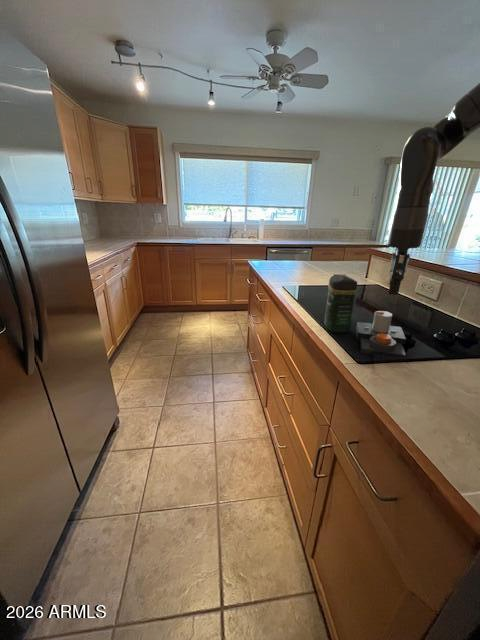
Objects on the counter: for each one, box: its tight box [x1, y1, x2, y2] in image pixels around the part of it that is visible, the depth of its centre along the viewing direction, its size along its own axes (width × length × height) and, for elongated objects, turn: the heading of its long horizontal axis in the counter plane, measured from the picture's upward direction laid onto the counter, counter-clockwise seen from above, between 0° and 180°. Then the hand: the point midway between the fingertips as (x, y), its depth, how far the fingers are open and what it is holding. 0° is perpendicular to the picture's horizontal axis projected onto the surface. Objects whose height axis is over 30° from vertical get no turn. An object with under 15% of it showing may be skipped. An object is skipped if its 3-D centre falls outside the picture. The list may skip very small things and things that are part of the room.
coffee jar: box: [323, 273, 358, 334], centre depth 88 cm, size 10×8×19 cm
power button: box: [376, 333, 391, 344], centre depth 75 cm, size 4×4×2 cm
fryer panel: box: [355, 321, 407, 345], centre depth 83 cm, size 13×9×3 cm
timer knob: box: [372, 310, 393, 333], centre depth 81 cm, size 5×5×6 cm
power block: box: [359, 335, 407, 357], centre depth 76 cm, size 11×7×4 cm, turn 69°
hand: (393, 289), depth 71 cm, fingers open, 8 cm apart
